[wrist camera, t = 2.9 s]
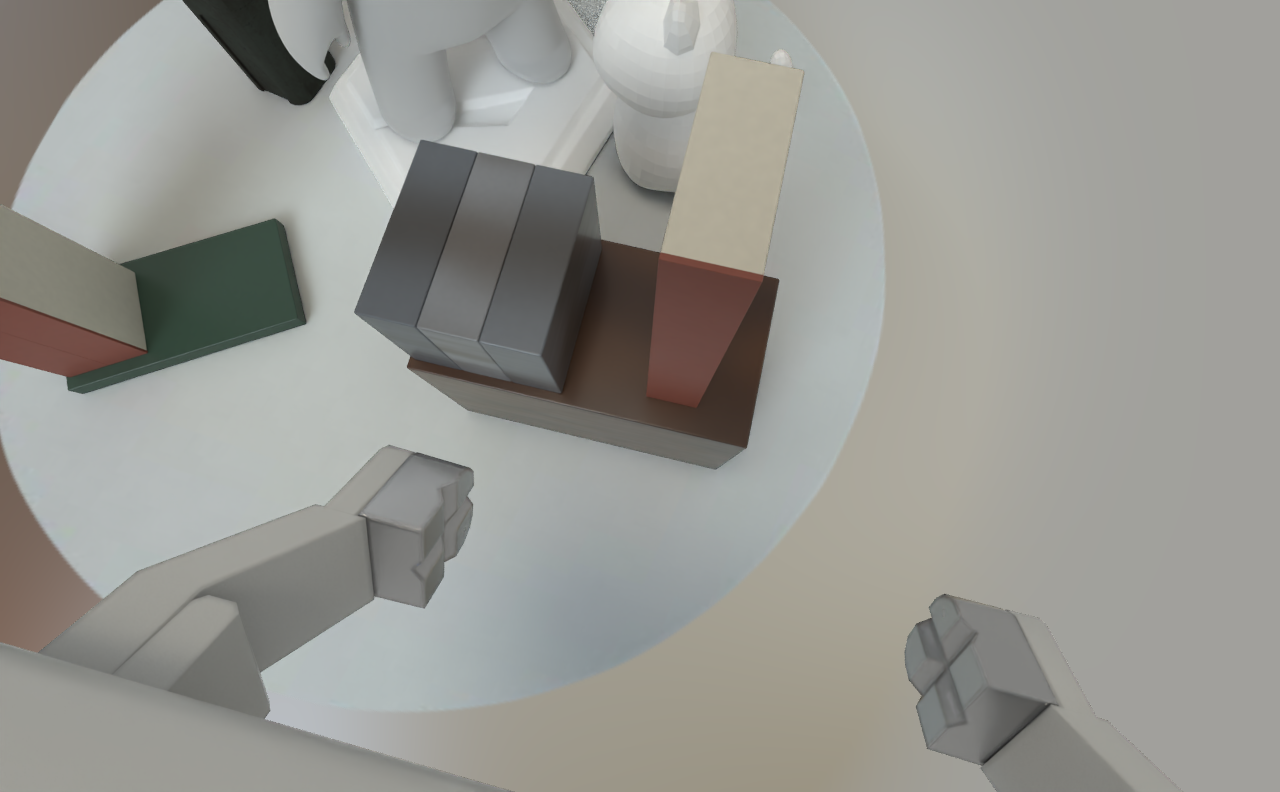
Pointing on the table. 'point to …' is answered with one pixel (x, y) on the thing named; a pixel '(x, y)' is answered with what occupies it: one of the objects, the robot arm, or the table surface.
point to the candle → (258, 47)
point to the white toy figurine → (458, 79)
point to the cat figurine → (660, 77)
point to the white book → (720, 221)
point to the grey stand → (544, 309)
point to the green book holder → (138, 301)
